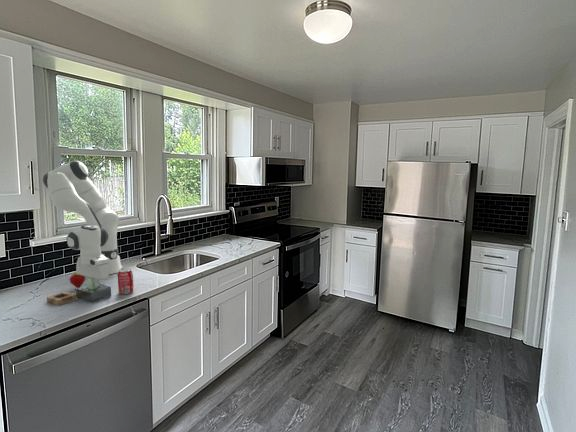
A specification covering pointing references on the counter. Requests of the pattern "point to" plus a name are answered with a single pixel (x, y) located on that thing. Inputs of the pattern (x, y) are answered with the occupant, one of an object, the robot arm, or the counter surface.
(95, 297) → the port block
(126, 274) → the soda can
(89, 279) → the plug
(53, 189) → the robot arm
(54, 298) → the wooden square frame
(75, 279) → the strawberry
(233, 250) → the counter surface
